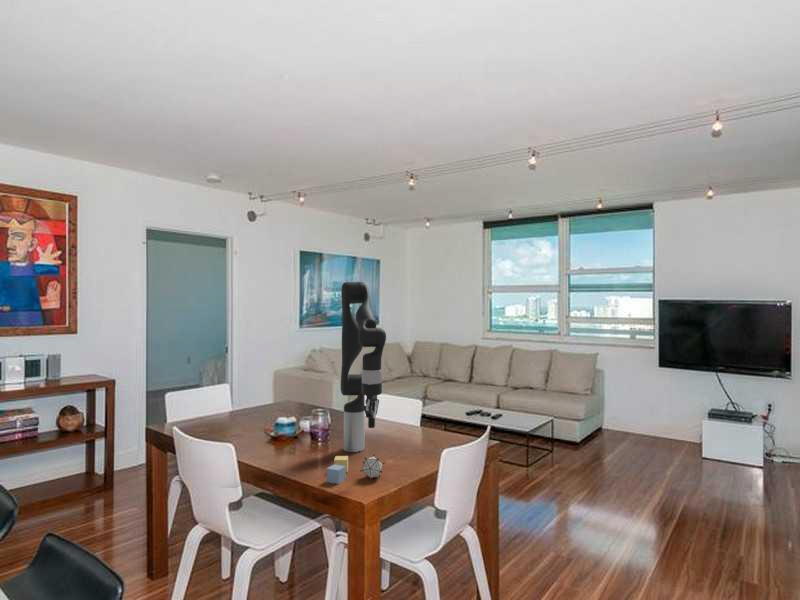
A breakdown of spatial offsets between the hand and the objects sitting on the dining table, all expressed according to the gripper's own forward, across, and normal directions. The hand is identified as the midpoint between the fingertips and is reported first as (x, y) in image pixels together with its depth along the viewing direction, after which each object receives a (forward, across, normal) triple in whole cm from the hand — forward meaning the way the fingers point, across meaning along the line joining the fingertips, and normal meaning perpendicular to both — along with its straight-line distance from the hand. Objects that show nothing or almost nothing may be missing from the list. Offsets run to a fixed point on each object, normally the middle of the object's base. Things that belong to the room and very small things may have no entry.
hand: (371, 427), depth 185 cm
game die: (+18, +2, +1) cm, 19 cm away
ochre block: (+18, -3, -13) cm, 23 cm away
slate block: (+18, +8, -11) cm, 23 cm away
